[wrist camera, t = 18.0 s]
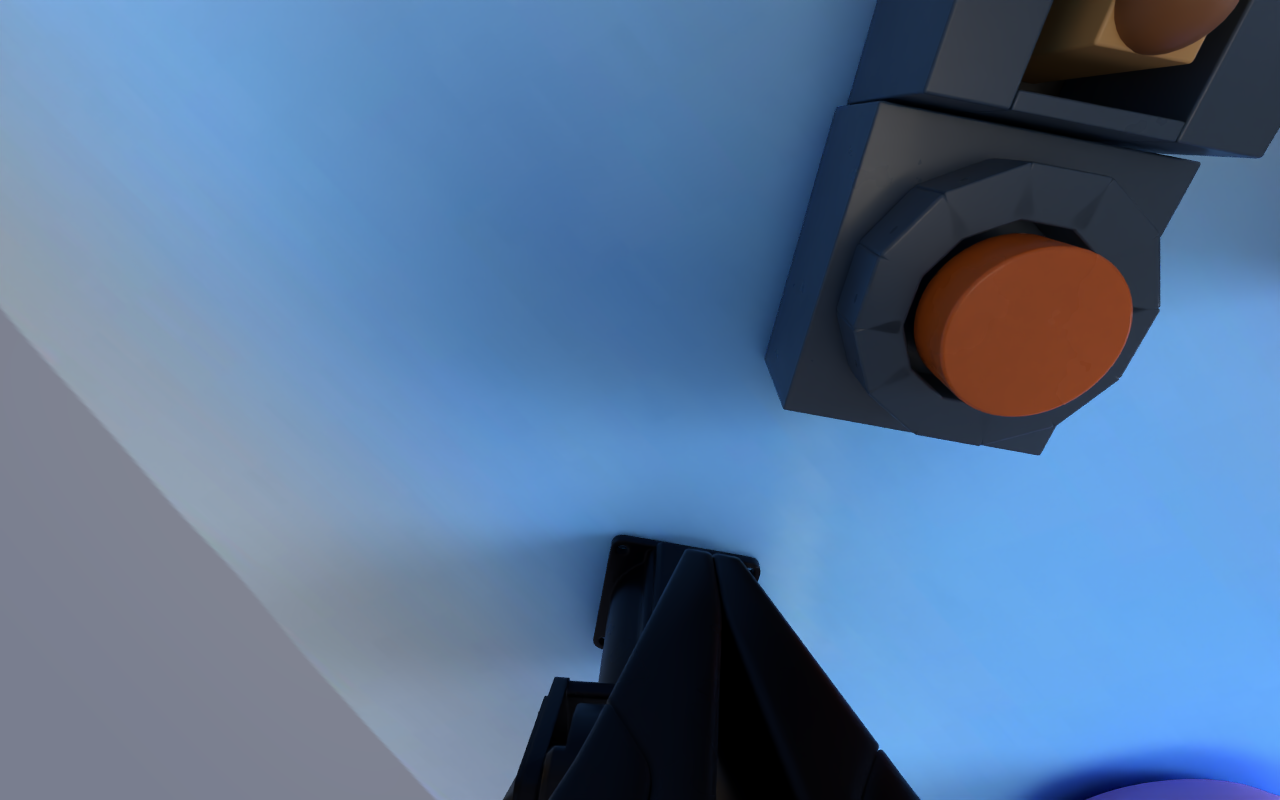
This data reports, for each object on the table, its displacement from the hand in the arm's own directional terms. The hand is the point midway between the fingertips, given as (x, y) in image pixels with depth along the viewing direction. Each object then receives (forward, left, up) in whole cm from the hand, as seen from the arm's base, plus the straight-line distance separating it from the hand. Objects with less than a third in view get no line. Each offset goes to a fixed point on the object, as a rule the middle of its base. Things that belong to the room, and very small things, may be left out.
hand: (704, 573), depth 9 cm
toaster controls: (+3, -7, -13) cm, 15 cm away
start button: (+3, -7, -7) cm, 11 cm away
